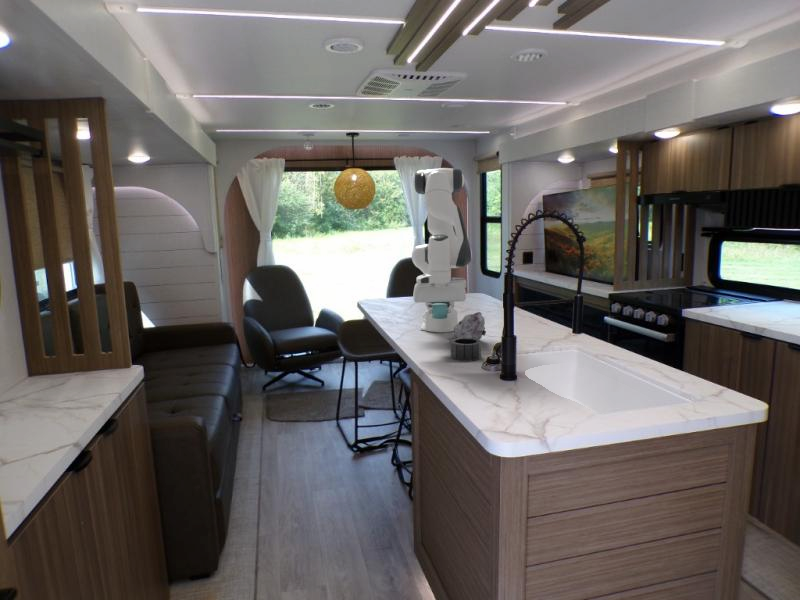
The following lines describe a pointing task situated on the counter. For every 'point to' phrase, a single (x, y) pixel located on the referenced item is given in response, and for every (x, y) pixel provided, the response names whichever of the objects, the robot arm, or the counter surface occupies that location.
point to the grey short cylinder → (465, 349)
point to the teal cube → (439, 311)
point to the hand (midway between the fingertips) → (439, 313)
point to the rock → (470, 327)
